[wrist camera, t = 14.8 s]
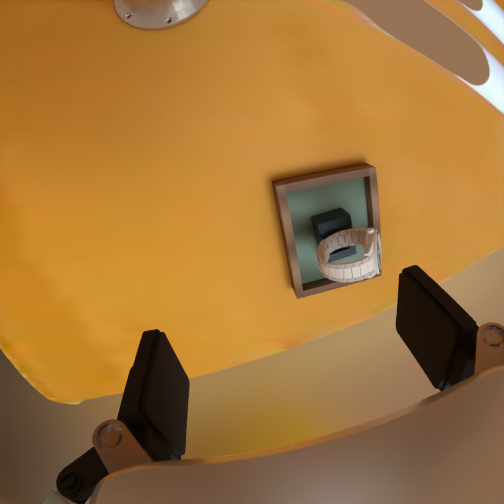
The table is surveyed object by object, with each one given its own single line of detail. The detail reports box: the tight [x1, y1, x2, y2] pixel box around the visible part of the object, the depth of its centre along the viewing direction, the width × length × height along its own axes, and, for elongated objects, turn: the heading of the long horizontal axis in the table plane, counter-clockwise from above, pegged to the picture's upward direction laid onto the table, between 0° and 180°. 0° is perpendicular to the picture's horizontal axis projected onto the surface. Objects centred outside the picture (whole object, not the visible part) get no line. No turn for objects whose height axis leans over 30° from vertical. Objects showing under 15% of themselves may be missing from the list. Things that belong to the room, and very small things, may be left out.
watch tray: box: [272, 164, 381, 299], centre depth 39 cm, size 16×13×3 cm
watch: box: [311, 207, 381, 282], centre depth 34 cm, size 6×8×11 cm
